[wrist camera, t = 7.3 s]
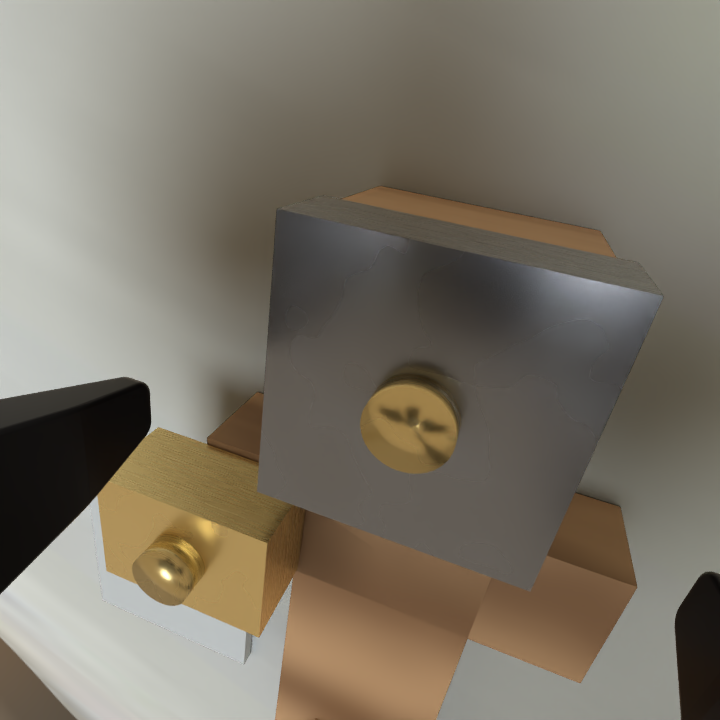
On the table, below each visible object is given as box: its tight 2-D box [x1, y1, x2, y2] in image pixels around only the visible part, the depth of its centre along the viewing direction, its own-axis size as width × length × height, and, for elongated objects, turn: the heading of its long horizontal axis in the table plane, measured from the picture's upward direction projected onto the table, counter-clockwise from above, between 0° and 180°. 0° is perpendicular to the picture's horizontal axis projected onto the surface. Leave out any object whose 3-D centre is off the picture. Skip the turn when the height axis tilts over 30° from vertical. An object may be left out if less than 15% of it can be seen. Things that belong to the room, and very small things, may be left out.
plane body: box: [207, 186, 637, 720], centre depth 16 cm, size 23×12×5 cm, turn 171°
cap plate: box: [257, 195, 664, 591], centre depth 10 cm, size 7×6×3 cm
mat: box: [90, 496, 252, 665], centre depth 22 cm, size 10×8×1 cm
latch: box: [97, 427, 305, 637], centre depth 14 cm, size 4×5×3 cm
